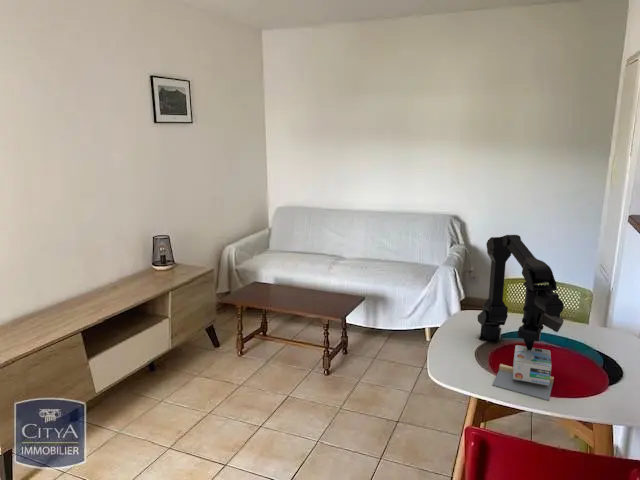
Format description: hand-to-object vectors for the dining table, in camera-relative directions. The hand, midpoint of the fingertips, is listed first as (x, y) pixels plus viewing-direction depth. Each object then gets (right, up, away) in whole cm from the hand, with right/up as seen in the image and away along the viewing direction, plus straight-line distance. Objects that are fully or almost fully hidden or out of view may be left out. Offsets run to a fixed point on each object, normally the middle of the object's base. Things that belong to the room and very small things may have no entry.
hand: (529, 348), depth 152 cm
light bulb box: (+1, -3, +2) cm, 4 cm away
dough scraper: (-4, -10, -4) cm, 12 cm away
